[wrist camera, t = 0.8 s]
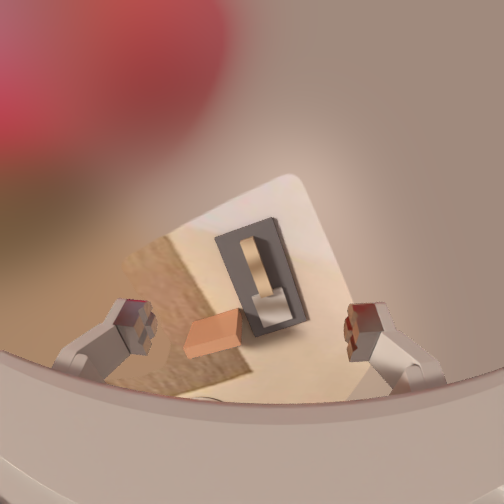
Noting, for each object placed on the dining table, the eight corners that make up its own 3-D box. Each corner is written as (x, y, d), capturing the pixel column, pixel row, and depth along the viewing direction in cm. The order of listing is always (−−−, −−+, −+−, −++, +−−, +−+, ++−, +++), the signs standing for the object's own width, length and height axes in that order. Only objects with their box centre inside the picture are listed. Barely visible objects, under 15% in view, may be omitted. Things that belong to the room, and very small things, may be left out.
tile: (243, 319, 57) (241, 346, 47) (198, 332, 58) (189, 360, 48) (238, 308, 56) (235, 334, 47) (193, 321, 57) (183, 348, 47)
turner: (292, 316, 56) (293, 322, 54) (263, 325, 56) (264, 331, 54) (262, 232, 52) (263, 235, 49) (231, 243, 52) (230, 246, 50)
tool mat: (306, 319, 57) (306, 320, 56) (255, 335, 58) (255, 337, 57) (271, 217, 51) (271, 217, 51) (214, 237, 52) (214, 238, 52)
